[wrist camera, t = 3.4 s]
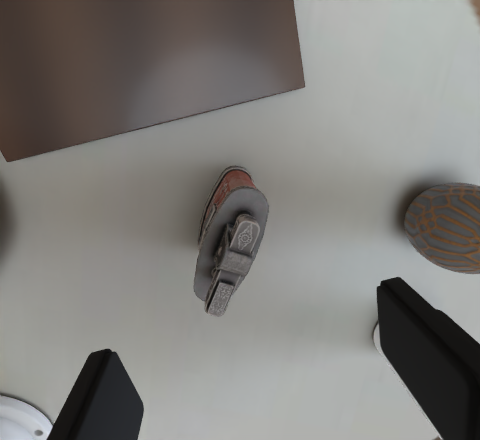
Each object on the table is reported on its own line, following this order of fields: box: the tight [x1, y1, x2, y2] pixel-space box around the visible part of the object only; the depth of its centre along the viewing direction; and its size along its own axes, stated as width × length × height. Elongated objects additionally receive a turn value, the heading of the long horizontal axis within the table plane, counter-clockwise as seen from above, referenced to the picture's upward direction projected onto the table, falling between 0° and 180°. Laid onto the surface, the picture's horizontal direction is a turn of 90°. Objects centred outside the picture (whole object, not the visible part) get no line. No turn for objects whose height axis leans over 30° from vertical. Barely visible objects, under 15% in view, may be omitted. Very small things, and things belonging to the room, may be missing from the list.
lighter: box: [194, 166, 269, 317], centre depth 20 cm, size 8×3×10 cm, turn 159°
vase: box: [405, 183, 480, 274], centre depth 23 cm, size 7×7×9 cm
